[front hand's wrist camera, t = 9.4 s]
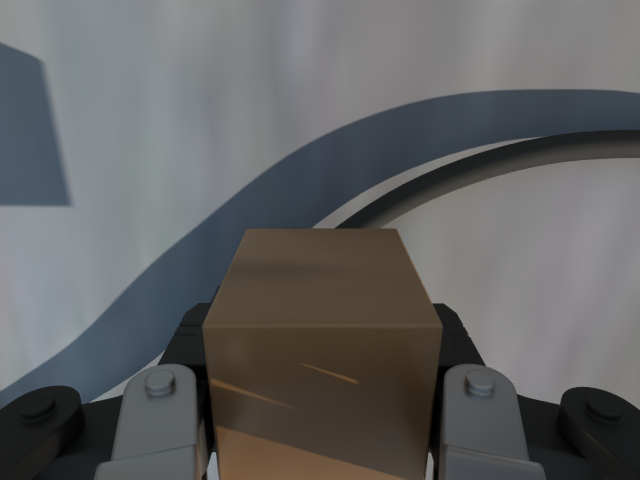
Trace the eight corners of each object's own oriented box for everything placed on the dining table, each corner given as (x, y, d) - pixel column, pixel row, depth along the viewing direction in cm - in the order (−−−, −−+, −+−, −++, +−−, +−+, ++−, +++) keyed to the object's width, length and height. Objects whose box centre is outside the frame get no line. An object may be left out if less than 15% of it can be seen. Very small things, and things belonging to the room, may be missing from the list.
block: (387, 373, 14) (421, 524, 9) (254, 373, 14) (222, 525, 9) (397, 227, 12) (444, 324, 7) (245, 227, 12) (200, 324, 7)
